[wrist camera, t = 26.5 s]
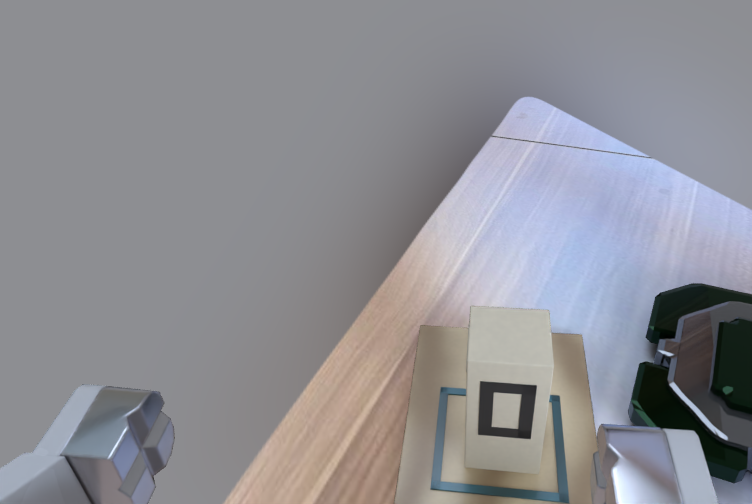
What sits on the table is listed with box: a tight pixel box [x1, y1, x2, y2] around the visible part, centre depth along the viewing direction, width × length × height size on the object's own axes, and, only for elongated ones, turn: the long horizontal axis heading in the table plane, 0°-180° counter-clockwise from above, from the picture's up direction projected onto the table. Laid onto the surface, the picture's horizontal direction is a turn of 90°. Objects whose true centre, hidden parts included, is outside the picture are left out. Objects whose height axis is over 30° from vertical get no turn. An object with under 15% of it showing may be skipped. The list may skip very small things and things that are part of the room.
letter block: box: [464, 306, 554, 474], centre depth 41 cm, size 5×5×10 cm
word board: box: [394, 325, 598, 504], centre depth 44 cm, size 13×23×1 cm, turn 171°
